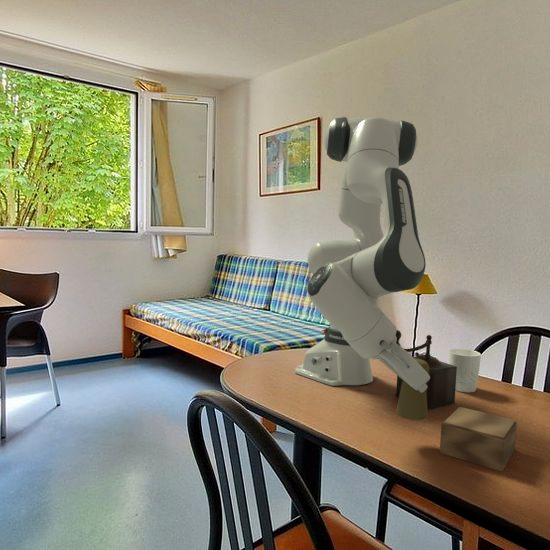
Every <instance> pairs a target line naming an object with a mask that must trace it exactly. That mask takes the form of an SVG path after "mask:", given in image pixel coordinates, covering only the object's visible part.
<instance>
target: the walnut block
mask: <svg viewBox="0 0 550 550" xmlns="http://www.w3.org/2000/svg"><path fill="white" fill-rule="evenodd" d="M517 425H518V422H517V421H516V420H515V419H513V418H509V417H504V416H500V415H497V414H496V415H495V414H492V413H487V412H483V411H479V410H474V409H471V408H467V407H462V406H459V407H458V408H457V409H456V410H454V411H453V413H451V414H450V416H448V417H447V418H446V419H445V420H444V421H443V422H442V423H441V427H440V438H439V439H440V440H439V441H440V443H439V453H440V454H443V455H446V456H449V457H453V458H455V459H456V458H457V459H460V460H463V461H467V462H470V463H472V464H476V465H479V466H481V467H482V466H483V467H486V468H489V469H493V470H496V471H499V472H504V469H505V468H506V466H507V465H508V463H509V460H510V459H511V457H512V456H513V454H514V452H515V450H516V440H517V427H518V426H517Z"/></svg>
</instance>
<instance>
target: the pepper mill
mask: <svg viewBox="0 0 550 550" xmlns="http://www.w3.org/2000/svg"><path fill="white" fill-rule="evenodd" d="M395 336H396V338H397V341H396V344H398V345H399V346H401V347H402V345H401V344H400V340H401V338H402V332H401V331H400V330H399V329H397V331H396V335H395ZM425 337H426V338H425V339H426V340H425V342H424V343H423V344H421V345H418V346H415V347H411V348H404V349H405V350H406V351H407V352H408V353H413V352H415V356H412V357H413V358H417V359H421V360H424V361H426V362H427V363H428V365H429V373H428V374H429V376H430V379H429V381H428V382H427V383H426V385H427V386H428V387H427V389H426V394H427V411H428V410H434V408H435V409H438V408H442V407H445V405H446V406H448V405H452V404H455V402H456V390H455V388H456V373H457V367H456V366H453V365H450V364H449V363H448V362H443V361H440V360H439V359H438V358H436V357H434V356H432V355H431V353H430V352H431V345H432V344H433V342H432V339H433V337H432V335H431V334H427V335H426V336H425ZM425 348H426V349H425ZM423 349H425V354H419V352H417V351H420V350H423ZM396 376H397V377H396V388H395V389H396V390H395V391H396V392H395V397H397V398H398V399H399V395H400V391H401V386H402V381H403V379H401V378H400V377H399V376H398V375H396Z"/></svg>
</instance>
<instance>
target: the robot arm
mask: <svg viewBox="0 0 550 550" xmlns="http://www.w3.org/2000/svg"><path fill="white" fill-rule="evenodd" d="M323 139H324V149H325V151H326V155H327V156H328V158H329V159H330V160H333V161H336V162H338V163H339V162H340V163H341V162H345V165H344V168H343V173H342V177H341V178H342V179H341V184H340V194H339V202H338V211H337V215H338V217H339V220H340V221H341V222H342V223H343V224H344V225H345V226H347V227H348V228H351V229H352V231H353V239H352V240H350V239H329V240H322V241H318V242H315V243H314V244H313V245H312V246H311V247H310V249H309V252H308V253H307V265H308V269H309V271H310V273H312V276H311V278H310V279H309V281H308V283H307V287H306V289H307V290H306V291H307V294H308V297H309V299H310V301H311V302H312V304H313V305H314V307H315V308H316V309H317V311H318V312H319V313H320V315H321V316H322V317H323V318H324V319H325V320H326V321H327V322H328V323H329V326H328V327H326V328H325V329H323V330H321V335H324V338H323V339H321V340H320V341H319V342H317V343H316V344H315V345H313V346H312V347H310V348H308V350H307V351H306V352H305V354H304V357H303V362H302V364H300V365H297V366H296V367H295V369H294V374H297V375H298V376H299V375H300V376H302V377H306V378H309V379H310V380H313V381H318V382H319V383H323V384H326V385H328V386H333V387H335V386H361V385H363V386H364V385H366V384H370V383H372V382H373V381H374V375H373V373H372V367H371V360H378V361H379V362H381V363H382V364H383V365H385V367H387V368H388V369H390V371H391V372H393V373H394V374H395V375H396V376H397V375H398V376H399V377H400V378H401V379H403V380H404V381H405V382H406V383H407V384H409V385H410V386H411V387H412V388H414V389H415V390H418V391H420V392H421V393H422V392H424V391H425V390H426V389H427V387H428V386H427V385H426V383H427V382H428V381H429V379H430V376H429V374H428V373H427V372H426V371H425V370H424V368H423V367H422V366H421V365H420V364H419V363H418V362H417V361H416V360H415V359H414V358H413V357H414V356H412V355H411V354H410V352H407V351H406V350H405V349H406V348H404V347H402V345H401V346H399V345H398V344H396V341H397V338H396V336H395V335H396V331H397V330H398V329H397V327H396V325H395V324H394V323H393V321H391V319H389V317H388V316H387V315H386V314H385V313H384V312H383V310H382V309H380V307H379V306H377V305H376V301H377V299H378V298H380V297H383V296H386V295H389V294H393V293H399V292H405V291H410V290H412V289H414V288H416V287H418V286H419V284H420V283H421V281H422V279H423V278H424V275H425V272H426V257H425V253H424V249H423V247H422V244H421V242H420V237H419V232H418V223H417V217H416V211H415V210H416V209H415V202H414V197H413V190H412V187H411V182H410V180H409V178H408V176H407V175H406V173H405V172H404V171H403V170H401V169H400V168H399V167H400V166H404V165H405V164H407V163H409V162H410V161H411V160H412V158H413V156H414V154H415V152H416V150H417V147H418V135H417V130H416V127H415V125H414V124H413V123H412V122H410V121H409V122H408V121H405V120H401V119H400V120H394V119H389V118H384V117H380V116H371V117H370V116H369V117H349V118H347V116H342V117H336V118H334V119H332V120H331V121H330V122H329V126H328V127H327V129H326V131H325V133H324V138H323ZM381 205H382V206H383V217H384V227H385V232H383V230H382V225H381V208H382V206H381Z"/></svg>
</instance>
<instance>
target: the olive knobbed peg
mask: <svg viewBox="0 0 550 550" xmlns="http://www.w3.org/2000/svg"><path fill="white" fill-rule="evenodd" d="M414 359H415V360H416V361H417V362H418V363H419V364H420V365H421V366H422V367H423V368H424V370H425V371H426V372H427V373H429V365H428V363H427V362H426V361H424V360H421V359H417V358H414ZM395 413H396V414H397V415H398V416H399V417H401V418H404V419H407V420H413V421H422V420H426V419H427V418H428V415H429V413H428V410H427V394H426V390H425V391H424V392H422V393H421V392H420V391H418V390H415V389H414V388H412V387H411V386H410V385H409V384H407V383H406V382H405V381H404V380H403V381H402V386H401V391H400V395H399V398H398V401H397V405H396V410H395Z"/></svg>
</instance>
